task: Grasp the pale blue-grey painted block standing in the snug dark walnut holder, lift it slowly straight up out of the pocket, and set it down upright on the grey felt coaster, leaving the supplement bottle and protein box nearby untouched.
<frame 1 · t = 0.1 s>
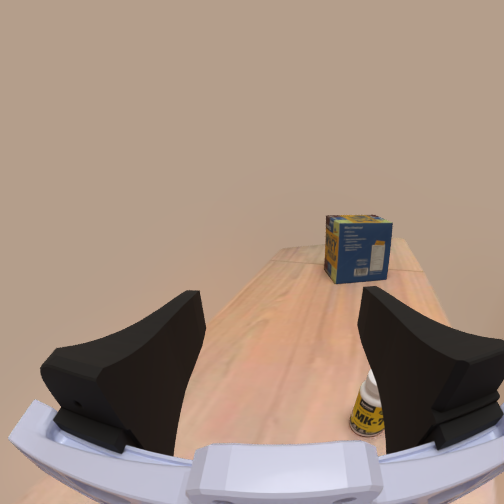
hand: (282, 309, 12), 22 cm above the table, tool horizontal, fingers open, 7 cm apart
protein box: (355, 275, 70), on the table
supplement bottle: (367, 424, 25), on the table
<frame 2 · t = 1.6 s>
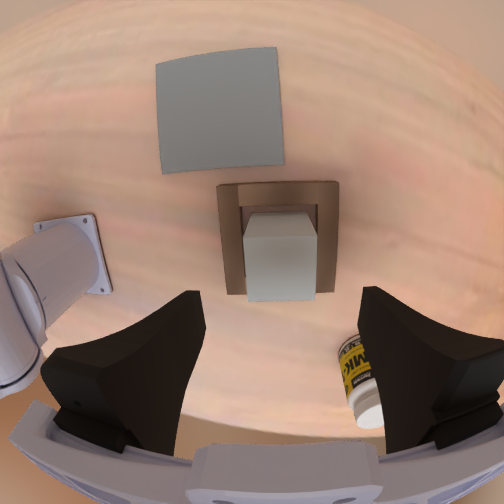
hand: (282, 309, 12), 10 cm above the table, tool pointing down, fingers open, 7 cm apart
holder: (279, 237, 21), on the table
block: (280, 251, 18), in the holder
supplement bottle: (359, 349, 25), on the table
coaster: (217, 108, 18), on the table
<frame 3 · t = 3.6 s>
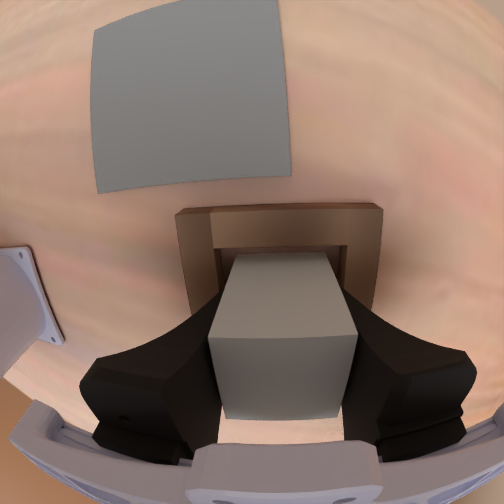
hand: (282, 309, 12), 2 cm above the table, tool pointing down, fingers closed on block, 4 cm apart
holder: (281, 291, 13), on the table
block: (282, 329, 10), in the holder, touching gripper
coaster: (179, 83, 10), on the table
when the fingers open (3 cm above the table, at t = 8.7 s): block drops 1 cm, resting on coaster.
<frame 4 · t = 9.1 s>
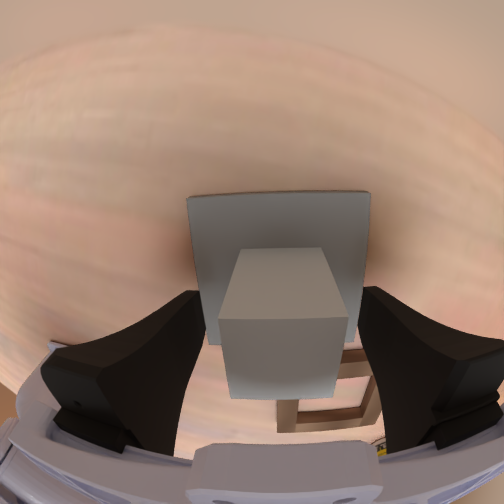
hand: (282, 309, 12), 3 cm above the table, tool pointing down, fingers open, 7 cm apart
holder: (333, 390, 18), on the table
block: (282, 316, 11), on the coaster, point 4 cm above the table
coaster: (281, 275, 15), on the table
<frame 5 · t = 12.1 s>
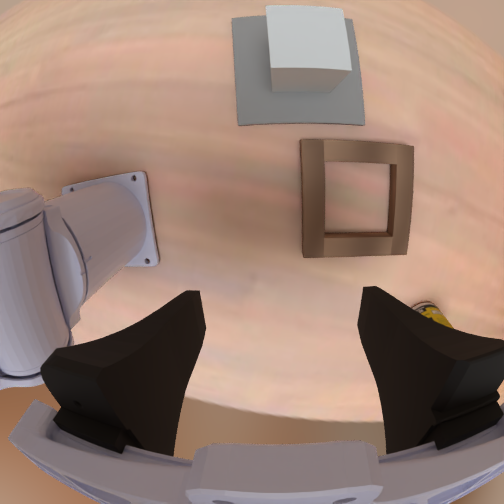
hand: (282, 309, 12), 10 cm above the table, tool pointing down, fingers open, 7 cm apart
holder: (357, 197, 19), on the table
block: (303, 53, 13), on the coaster, point 4 cm above the table
supplement bottle: (417, 320, 23), on the table
coaster: (298, 66, 16), on the table
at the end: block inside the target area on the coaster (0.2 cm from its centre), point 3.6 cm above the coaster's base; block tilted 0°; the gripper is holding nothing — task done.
